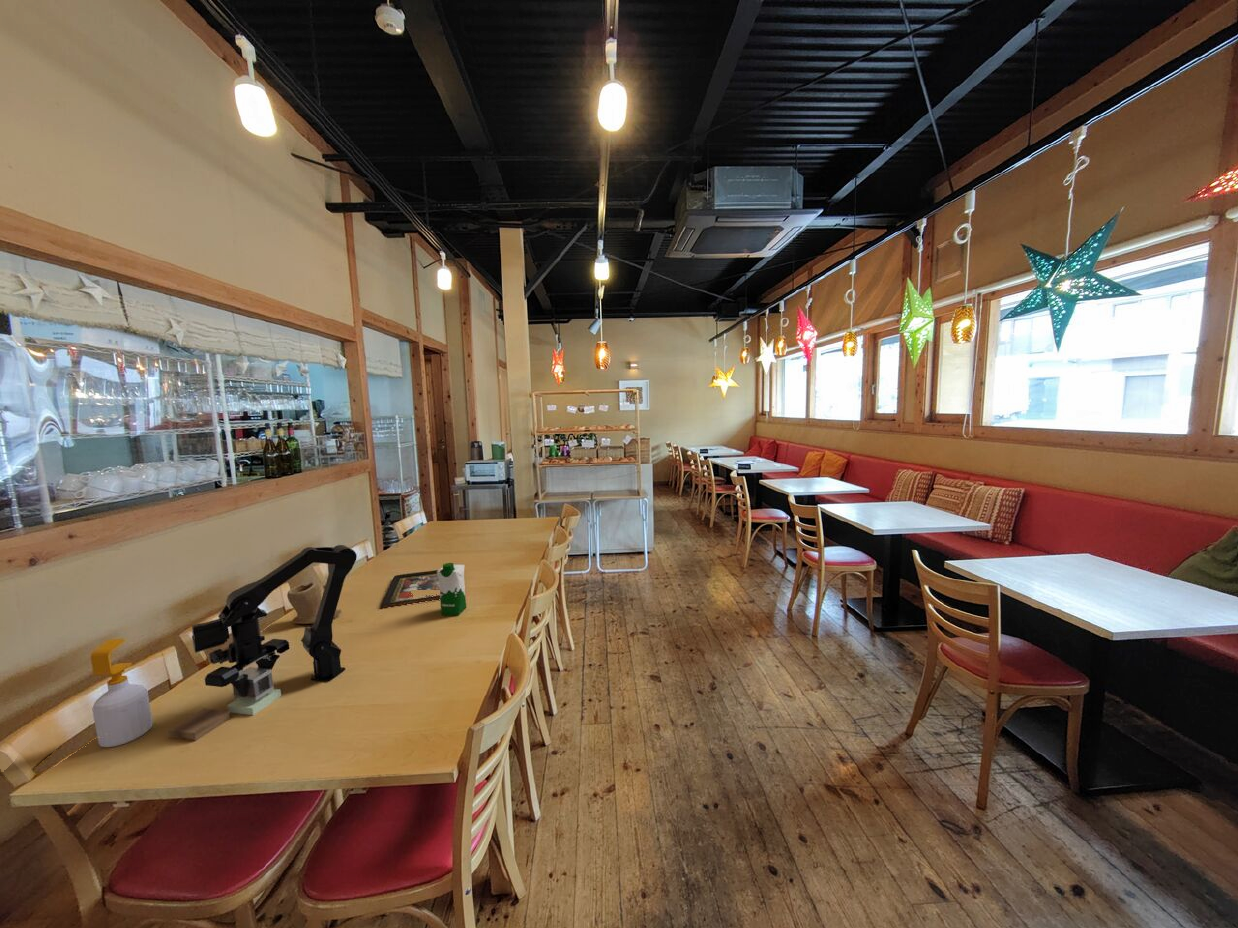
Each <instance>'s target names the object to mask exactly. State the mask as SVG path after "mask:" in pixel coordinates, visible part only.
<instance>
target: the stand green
mask: <svg viewBox="0 0 1238 928" xmlns="http://www.w3.org/2000/svg"><path fill="white" fill-rule="evenodd" d="M280 697H282V691H281V689H278V688H274V689H273V690H272V691H270V692H269V693H267V694H266V695H264V696H263V697H261V698H260V699H258V700H257V701H253V700H244V699H235V700H234V701H231V702H230V703H229V704H227V711H229V714H230V713H231V714H232V713H233V714H239V715H248V716H254V715H256V714H257V713H260V711H262V710H263V709H265V708H266V707H267V706H269V705H270V704H272V703H273V702H275V701H277V700H278V699H279V698H280Z"/></svg>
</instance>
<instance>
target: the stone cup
mask: <svg viewBox="0 0 1238 928" xmlns="http://www.w3.org/2000/svg"><path fill="white" fill-rule="evenodd" d="M286 596H287V600H288V602H289V604H290V605H291V606H292V607H293V609H294V610H295V611H296V616H295V617H293V618H292V620H291V622H292V623H293V624H300V625H301V624H302V625H303V624H314V622H315V620H316V616H317V613H318V609H319V606H320V603H321V599H322V593H321V587H320V586H319V584H317V582H314V581H311V582H307V583H306V582H304V583H301V584H298V585H296V586H294V587H292V588H290V589H289V590H288V592H287V595H286ZM342 612H343V610H342V609H336V611H335V615H334V618H333V620H334V619H335V618H338V616H340V615H341V613H342Z"/></svg>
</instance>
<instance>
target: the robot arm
mask: <svg viewBox="0 0 1238 928" xmlns="http://www.w3.org/2000/svg"><path fill="white" fill-rule="evenodd" d="M357 557H358V556H357V553H356V551H355V550H354V549H352V548H350V547H349V546H347V545H345V544H338V545H335V546H334V547H330V546H329V547H328V546H322V547H320V546H319V547H313V546H308V547H305V548H303V549H302V550H301V551H300V552H299V553H297V554H296V555H294V556H293V557H292V558H290V559H289V560H287V561H286V562H284V563H283V564H280V566H278V567H276V568H275V569H273V570H272V571H271V572H269V573H268V574H267V575H264V577H262V578H260V579H258V580H256V581H253V582H250V583H247V584H245V585H243V586H241V587H239V588H237V589H234V590H233V591H232V592H231V593H229V594H228V595H227V597H226V601H225V606H224V607H223V609H222V610H221V612H219V614H218V618H217V619H214V620H210V621H206V622H201V623H196V624H193V625H192V626H191V628H192V635H191V639H192V646H193V651H194V654H197V653H200V652H202V651H206V650H209V649H213V648H216V647H219V646H222V645H224V644H226V643H227V642H228V640H229V639H230V631H229V627H230V630H231V637H232V639H231V640H232V642H231V643H229V644H228V647H225V648H223V649H222V648H217V649H215V650H213V651H211V652H209V661H210V663H211V664H212V665H215V664H218V663H219V664H220V665H221V664H223V663H225V662H228V663H229V664H233V663H235V664H234V665H232V666H220V667H218V668H217V669H215V670H213V671H211V672H209V673H207V674H206V676H205V677H204V683H205V686H208V687H209V686H210V687H217V688H223V687H228V685H230V684H231V685H232V687H233V686H234V687H235V688H236V690H237V691H238V692H239V694H240V695H241V696H242V697H246V696H247V687H248V674H243V671H244V669H245V668H248V667H250V666H251V665H253V664H254V663H255V664H256V665H257V668H266V669H271V671H272V670H273V668H274V666H275V664H276V662H277V660H278V659H279V658H280V657H281V656H280V655H281V654H284V653H285V652H287V651H288V650H290V648H291V647H290V642H289V641H288V640H287V639H281V638H271V639H270V640H268V641H267V642H264V643H263V644H262V642H263V641H266V640H265V639H266V638H265V636H264V635H261V629H260V623H259V619H261V618H263V617H267V615H268V613H267V612H266V610H264V609H261V608H260V606H261V604H263V603H264V602H265V600H266V599H267V598H268V596H270V595H271V594H272V592H273V591H276V589H278V588H279V587H280V586H282V585H283V584H285V583H287V582H288V581H289V580H291V579H292V578H293V577H295V576H296V575H299V573H301V572H302V571H303V570H305V569H306V568H308V567H309V566H311V564H314V563H315V564H317V563H318V564H324V565H325V564H326V565H327V571H328V573H327V574H328V575H327V579H326V582H325V586H324V589H323V592H322V595H321V603H320V606H319V609H318V613H317V616H316V620H315V622H314V623H312V625H311V626H310V627H308V626H307V627H304V634H303V637H302V638H301V640H300V641H301V643H302V647H303V648H304V650H305V651H306V652H307V653H308V655H309V656H310V657H311V658H313V661H312V665H313V666H312V667H313V673H314V675H312V676H311V677H310V681H311V680H312V681H320V682H330V681H332V680H333V679H335V678H336V677H337V676H339V675H340V674H342V673H343V672H344V671H345V670H346V667H343V666H341V654H342V649H341V648H340V647H339V646H338V645H337V644H336V643H335V642H334V641H333V636H334V635H333V622H334V619H335V618H334V615H335V611H336V610H337V607H338V605H339V600H340V597H341V593H342V589H343V586H344V583H345V579H346V577H347V576H348V575H349V573H350V572H351V571H352V570H353V567H354V565H355V563H356V561H357ZM333 618H334V619H333ZM276 653H277V654H276Z"/></svg>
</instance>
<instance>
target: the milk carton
mask: <svg viewBox="0 0 1238 928" xmlns="http://www.w3.org/2000/svg"><path fill="white" fill-rule="evenodd" d="M437 570H438V571H437V574H438V579H439V589H440V600H439V601H440V612H441V616H456V617H457V616H460V615H461V614H462V613H463V612H464V611H465V610H466V609H467V600H466V599H467V598H466V588H465V587H466V586H465V564H454V563H453V562H447V563H443V564H442V567H441V568H439V569H437Z"/></svg>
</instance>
